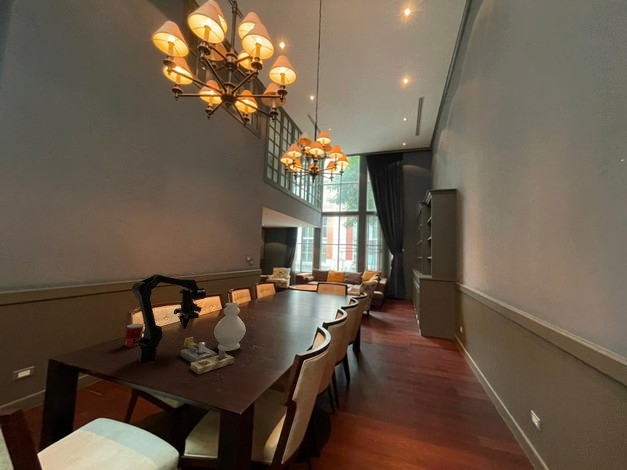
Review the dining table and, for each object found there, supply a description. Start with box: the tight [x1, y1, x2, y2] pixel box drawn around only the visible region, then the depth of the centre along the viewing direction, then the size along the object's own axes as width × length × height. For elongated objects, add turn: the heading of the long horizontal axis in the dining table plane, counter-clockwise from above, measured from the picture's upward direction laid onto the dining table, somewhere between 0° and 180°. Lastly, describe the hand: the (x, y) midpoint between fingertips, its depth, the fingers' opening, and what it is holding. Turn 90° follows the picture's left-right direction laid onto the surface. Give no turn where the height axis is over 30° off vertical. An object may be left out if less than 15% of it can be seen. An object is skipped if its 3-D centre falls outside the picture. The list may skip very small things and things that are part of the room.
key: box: [183, 336, 199, 348], centre depth 136 cm, size 4×8×4 cm, turn 52°
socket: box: [180, 344, 218, 364], centre depth 131 cm, size 11×16×5 cm
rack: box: [190, 349, 235, 375], centre depth 122 cm, size 18×8×6 cm, turn 142°
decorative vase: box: [213, 302, 246, 352], centre depth 149 cm, size 18×18×25 cm
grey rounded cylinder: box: [198, 341, 206, 355], centre depth 129 cm, size 3×3×8 cm
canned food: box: [124, 323, 144, 348], centre depth 144 cm, size 8×8×11 cm
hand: (184, 328), depth 143 cm, fingers closed
